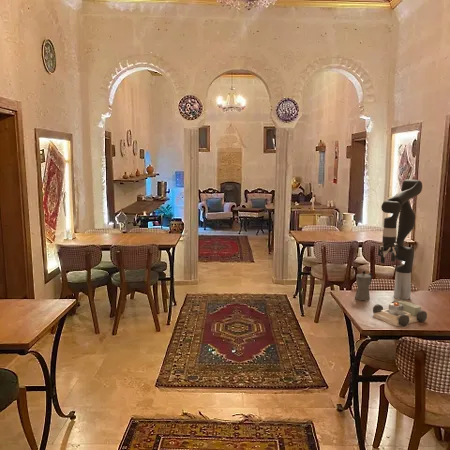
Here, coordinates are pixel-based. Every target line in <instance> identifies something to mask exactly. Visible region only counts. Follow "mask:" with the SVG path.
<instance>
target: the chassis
mask: <svg viewBox="0 0 450 450" xmlns="http://www.w3.org/2000/svg"><path fill="white" fill-rule="evenodd" d="M394 302H398V303H399V304H401V305H404V311H403V314H402V315H399V316H395V315H393V314H390V313H388V310H389V308H387V309H384V308H383V305H381V304H375V305H373V307H372V314H373V317H374V318H377V319H378V320H380V321H384V322H386V323H388V324H390V325H392V326H394V327H400V326H401V327H406V326H408V325H409V324H413V323H416V322H421V323H424V322H425V321H426V320H427V318H428V312H427V311H424V310H422V306H420V305H418V304H415V303H412V302H410V301H406V300H399V301H397V300H394V301H392V302H391V303H394Z"/></svg>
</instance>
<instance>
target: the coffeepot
mask: <svg viewBox="0 0 450 450" xmlns="http://www.w3.org/2000/svg"><path fill="white" fill-rule="evenodd" d="M355 278H356V286H357V288H356V292H355V296H354V298H355V299H356V300H357V299H358V301H361V300H368V301H369V300H370V299H371V297H370V289H369V288H370V286H371V283H372V279H373V274H372V273H371V272H369V273H366V270H363V271H362V273H357V274H356V275H355Z"/></svg>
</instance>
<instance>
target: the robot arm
mask: <svg viewBox="0 0 450 450" xmlns="http://www.w3.org/2000/svg"><path fill="white" fill-rule="evenodd" d="M422 190H423V182H422V181H421V180H419V179H404V180H403V181H402V185H401V191H399V192H398V193H396V194H394V196H393V197H390V198H387V199H386V200H384V201H383V202H382V204H381V207H380V209H381V211H382V212H383V213H385V214H392V215H391V216H387V217H384V219H383V229H382V245H379V246H378V252H377V256H378V257H380V263H382V264H385V261H386V256H387V254H389V253H390V254H391V255H390V257H391V258H390V260H391V262H396V260H397V261H401V262H404V263H403V264H402V265H397V266H396V267H395V278H394V290H393V297H394V298H395V299H397V300H400V301H403V300H404V301H406V300H409V299H411V293H412V282H411V279H412V268H413V265H414V255H415V250H414V248H413V247H409V246H404V242H405V239H406V238H407V236H408V235H410V232H412V231H413V229H414V227H415V223H416V215H415V212H414V209H413V208H412V206H411V203H410V200H411V199H413V198H414V197H416V196H419V195H420V194H421V193H422ZM397 223H398V229H397Z"/></svg>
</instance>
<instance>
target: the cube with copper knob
mask: <svg viewBox="0 0 450 450" xmlns="http://www.w3.org/2000/svg"><path fill="white" fill-rule="evenodd" d="M388 309H389V310H388V313H390V314H393V315H395V316H399V315H402V314H403V311H404V305H401V304H399V303H398V301H397V302H394V303H392V302H391V303H388Z"/></svg>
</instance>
